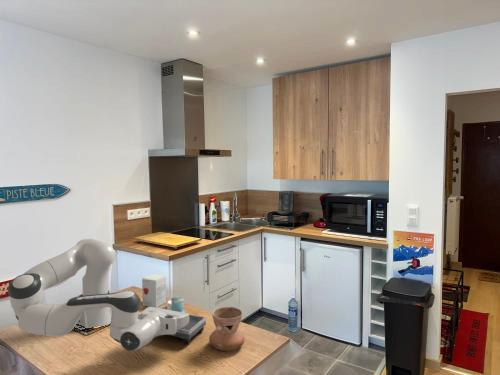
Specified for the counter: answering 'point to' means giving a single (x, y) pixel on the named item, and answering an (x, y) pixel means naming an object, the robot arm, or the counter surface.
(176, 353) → the counter surface
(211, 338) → the ceramic jug
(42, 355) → the counter surface
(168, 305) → the cup
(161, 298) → the supplement box
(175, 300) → the tin
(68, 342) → the counter surface
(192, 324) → the shallow tray
